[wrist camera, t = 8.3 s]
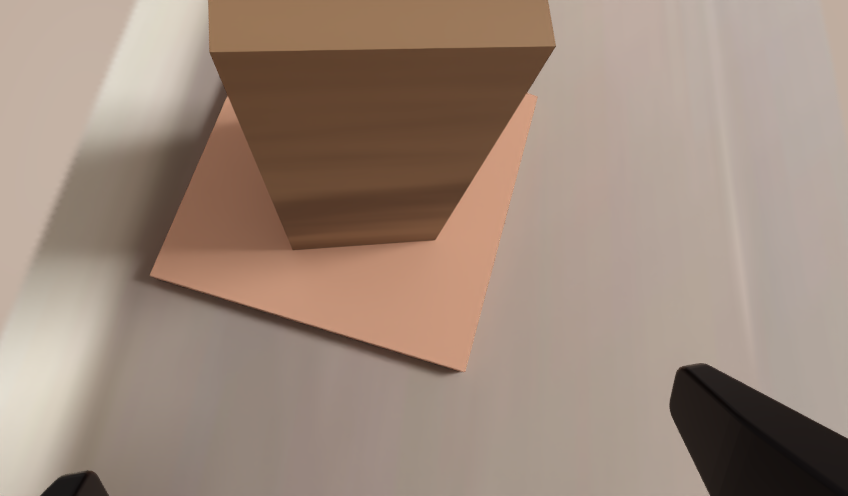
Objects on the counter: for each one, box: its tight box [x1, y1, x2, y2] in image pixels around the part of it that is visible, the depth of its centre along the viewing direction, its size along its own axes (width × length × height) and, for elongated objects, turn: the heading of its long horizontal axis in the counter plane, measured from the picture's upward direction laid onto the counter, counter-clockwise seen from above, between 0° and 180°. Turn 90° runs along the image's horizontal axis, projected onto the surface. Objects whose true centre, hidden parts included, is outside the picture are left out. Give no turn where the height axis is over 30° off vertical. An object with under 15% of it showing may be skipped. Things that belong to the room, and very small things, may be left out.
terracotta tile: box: [150, 93, 538, 372], centre depth 20 cm, size 11×11×1 cm
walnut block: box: [208, 0, 556, 250], centre depth 14 cm, size 5×5×12 cm
